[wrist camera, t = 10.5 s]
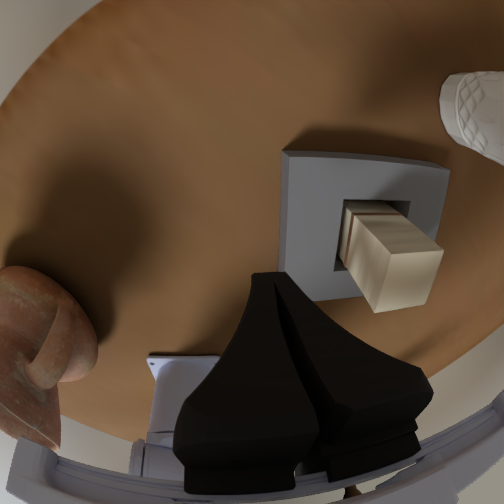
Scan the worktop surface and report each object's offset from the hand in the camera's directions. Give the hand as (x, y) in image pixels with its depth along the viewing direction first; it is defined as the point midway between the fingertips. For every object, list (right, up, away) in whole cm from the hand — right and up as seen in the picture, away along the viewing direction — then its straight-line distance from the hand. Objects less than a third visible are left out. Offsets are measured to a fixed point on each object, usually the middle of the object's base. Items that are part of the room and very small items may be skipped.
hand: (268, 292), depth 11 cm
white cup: (+18, +14, +5) cm, 23 cm away
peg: (+8, +4, +10) cm, 13 cm away
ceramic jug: (-22, -4, +12) cm, 25 cm away
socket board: (+8, +4, +10) cm, 13 cm away
